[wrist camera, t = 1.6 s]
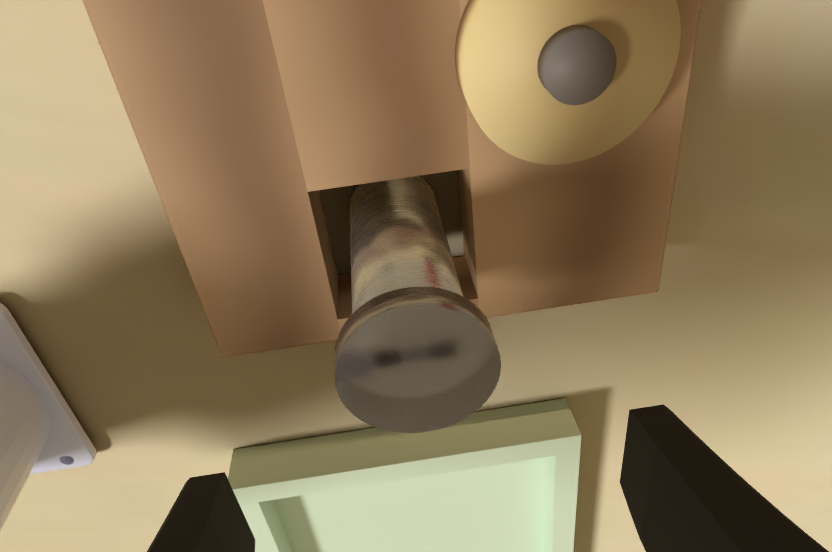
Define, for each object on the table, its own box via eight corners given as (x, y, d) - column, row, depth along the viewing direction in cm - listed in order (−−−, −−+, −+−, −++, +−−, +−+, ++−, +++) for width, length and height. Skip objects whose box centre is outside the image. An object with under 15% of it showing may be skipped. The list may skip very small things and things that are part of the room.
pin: (347, 263, 20) (350, 443, 14) (327, 165, 18) (319, 324, 12) (452, 247, 21) (502, 419, 14) (443, 148, 18) (498, 296, 12)
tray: (305, 617, 33) (303, 657, 31) (233, 449, 25) (225, 490, 23) (557, 576, 33) (568, 613, 31) (565, 398, 25) (581, 435, 24)
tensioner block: (234, 309, 21) (212, 398, 17) (92, -91, 14) (9, -76, 11) (627, 250, 21) (684, 326, 18) (672, -167, 15) (778, -179, 11)
